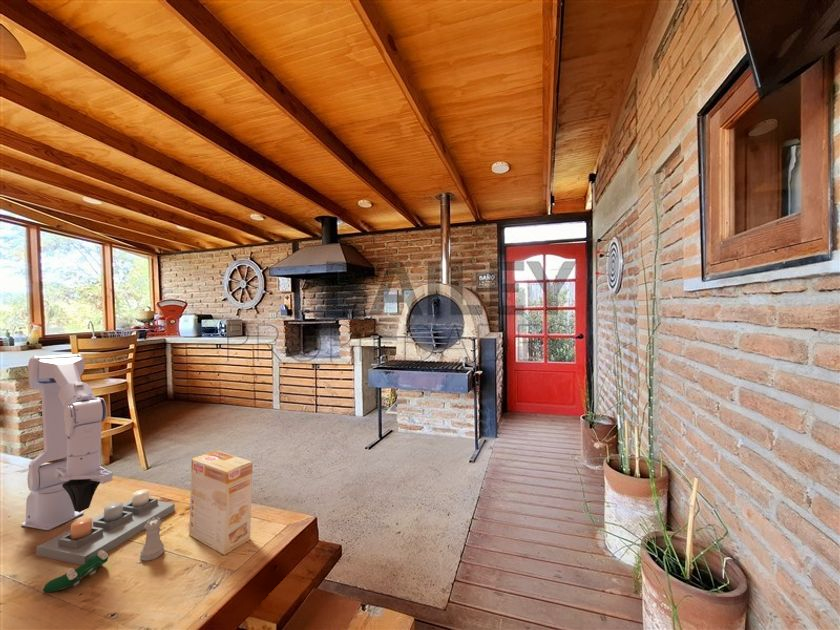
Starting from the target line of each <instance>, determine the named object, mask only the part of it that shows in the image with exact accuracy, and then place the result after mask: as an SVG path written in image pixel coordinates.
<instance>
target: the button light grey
mask: <svg viewBox="0 0 840 630" xmlns="http://www.w3.org/2000/svg"><path fill="white" fill-rule="evenodd" d="M123 503H124V502H113V503H111V504H108V505H105V507H104V509H103V513H104V522H112V521H115V520H117V519H119V518H121V517H122V516H123Z"/></svg>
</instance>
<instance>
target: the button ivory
mask: <svg viewBox="0 0 840 630" xmlns="http://www.w3.org/2000/svg"><path fill="white" fill-rule="evenodd" d="M149 497H150V490H149V489H140V490H136V491H135V492H133V493H132V497H131V499H132V507H140V506H143V505H145V504H147V503H148V502H149Z"/></svg>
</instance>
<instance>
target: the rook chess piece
mask: <svg viewBox="0 0 840 630" xmlns="http://www.w3.org/2000/svg"><path fill="white" fill-rule="evenodd" d="M162 524H163V521H162V519H160V518H159V517H157V518H156V519H155V518H152V521H151V520H150V519H149V520H148V522H147V524H146V525H145V526H144V528H145V529H144V530H146V531H145V532H144V534H145V535H146V538H145V542H144V545H143V547H142V549H141V550H140V556H139V559H140V560H142V561H144V562H149V561H152V560H155V559H157V558H159V557H161V555H162V554H163V552H164V551H165V544H164V542H163V541H162V539H161V535H160V531H161V529H162V528H161V527H160V526H162Z"/></svg>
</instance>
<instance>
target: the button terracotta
mask: <svg viewBox="0 0 840 630" xmlns="http://www.w3.org/2000/svg"><path fill="white" fill-rule="evenodd" d="M70 530H71V539H72V540H78V539H82V538H84V537H86V536H88V535H89V534H91V533H92V517H86V518H85V517H84V518H81V519H78V520H75V521H74V522H72V523H71V524H70Z"/></svg>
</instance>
